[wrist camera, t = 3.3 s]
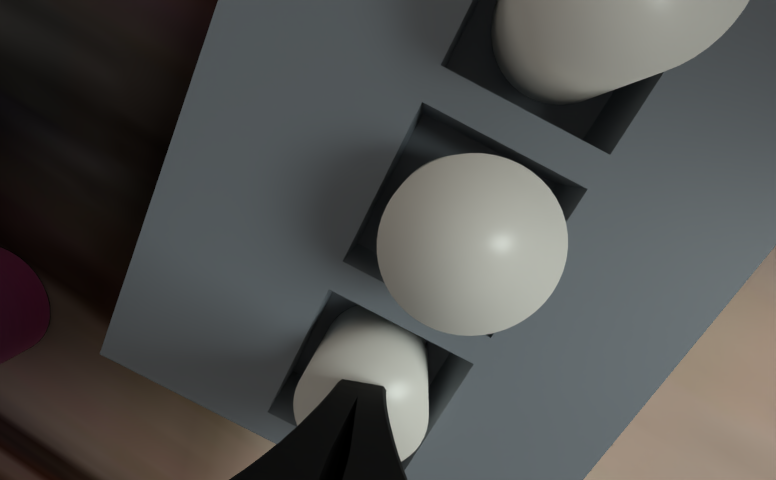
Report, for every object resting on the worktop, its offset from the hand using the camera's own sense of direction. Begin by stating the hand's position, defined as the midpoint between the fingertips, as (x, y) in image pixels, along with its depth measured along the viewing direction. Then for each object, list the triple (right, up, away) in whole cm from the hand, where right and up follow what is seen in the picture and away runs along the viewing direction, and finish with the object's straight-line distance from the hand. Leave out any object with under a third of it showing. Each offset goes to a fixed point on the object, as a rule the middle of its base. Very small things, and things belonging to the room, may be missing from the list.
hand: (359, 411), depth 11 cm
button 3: (+3, +6, 0) cm, 6 cm away
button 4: (0, +1, +3) cm, 3 cm away
